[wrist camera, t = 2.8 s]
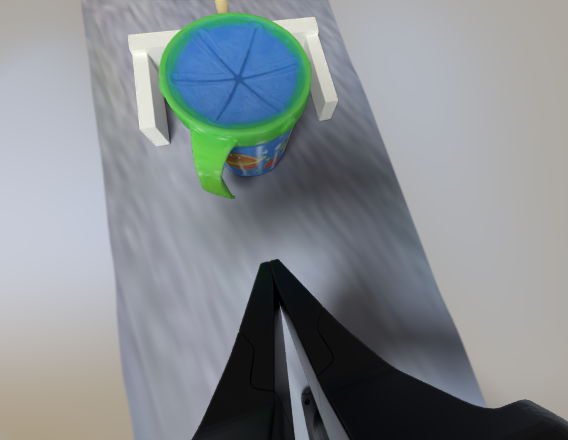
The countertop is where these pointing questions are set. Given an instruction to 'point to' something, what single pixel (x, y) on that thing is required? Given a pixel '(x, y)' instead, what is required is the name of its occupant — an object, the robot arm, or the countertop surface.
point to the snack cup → (235, 93)
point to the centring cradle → (153, 44)
